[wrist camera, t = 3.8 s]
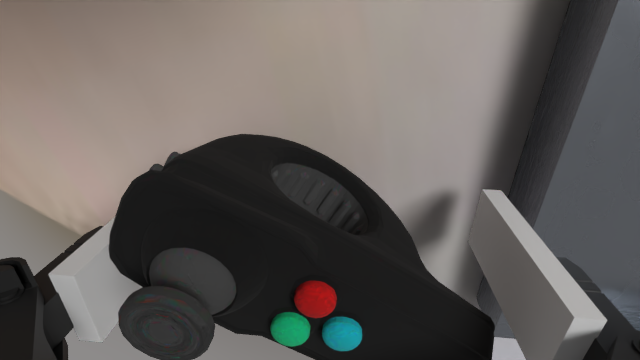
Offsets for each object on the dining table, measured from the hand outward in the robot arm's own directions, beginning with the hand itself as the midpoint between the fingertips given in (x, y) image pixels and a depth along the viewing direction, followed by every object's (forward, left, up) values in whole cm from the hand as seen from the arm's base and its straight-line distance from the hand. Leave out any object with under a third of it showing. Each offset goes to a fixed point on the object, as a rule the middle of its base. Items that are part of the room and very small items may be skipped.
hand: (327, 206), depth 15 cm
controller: (0, 0, -2) cm, 2 cm away
